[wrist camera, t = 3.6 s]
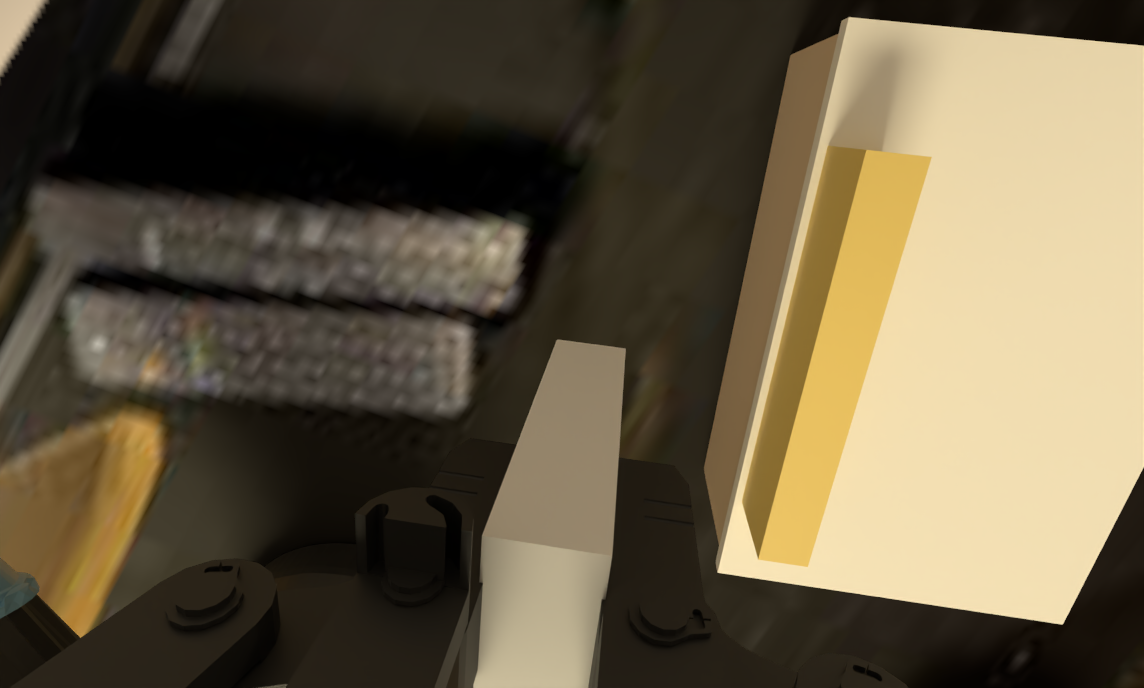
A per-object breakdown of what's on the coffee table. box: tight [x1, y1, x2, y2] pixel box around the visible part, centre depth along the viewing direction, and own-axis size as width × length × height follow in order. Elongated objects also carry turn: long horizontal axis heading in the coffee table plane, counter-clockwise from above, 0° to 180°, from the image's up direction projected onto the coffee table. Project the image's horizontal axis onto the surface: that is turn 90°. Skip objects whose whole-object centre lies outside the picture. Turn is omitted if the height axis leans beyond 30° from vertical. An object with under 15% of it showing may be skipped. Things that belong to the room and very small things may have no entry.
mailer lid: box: [716, 17, 1144, 624], centre depth 17 cm, size 12×18×4 cm
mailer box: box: [704, 34, 838, 545], centre depth 22 cm, size 12×18×6 cm, turn 174°
